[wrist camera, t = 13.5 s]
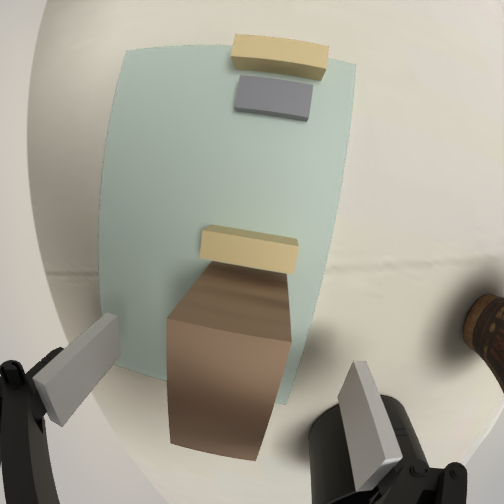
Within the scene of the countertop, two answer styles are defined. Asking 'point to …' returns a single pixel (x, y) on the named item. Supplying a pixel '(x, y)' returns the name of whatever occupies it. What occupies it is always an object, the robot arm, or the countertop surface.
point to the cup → (487, 333)
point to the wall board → (219, 180)
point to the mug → (344, 457)
